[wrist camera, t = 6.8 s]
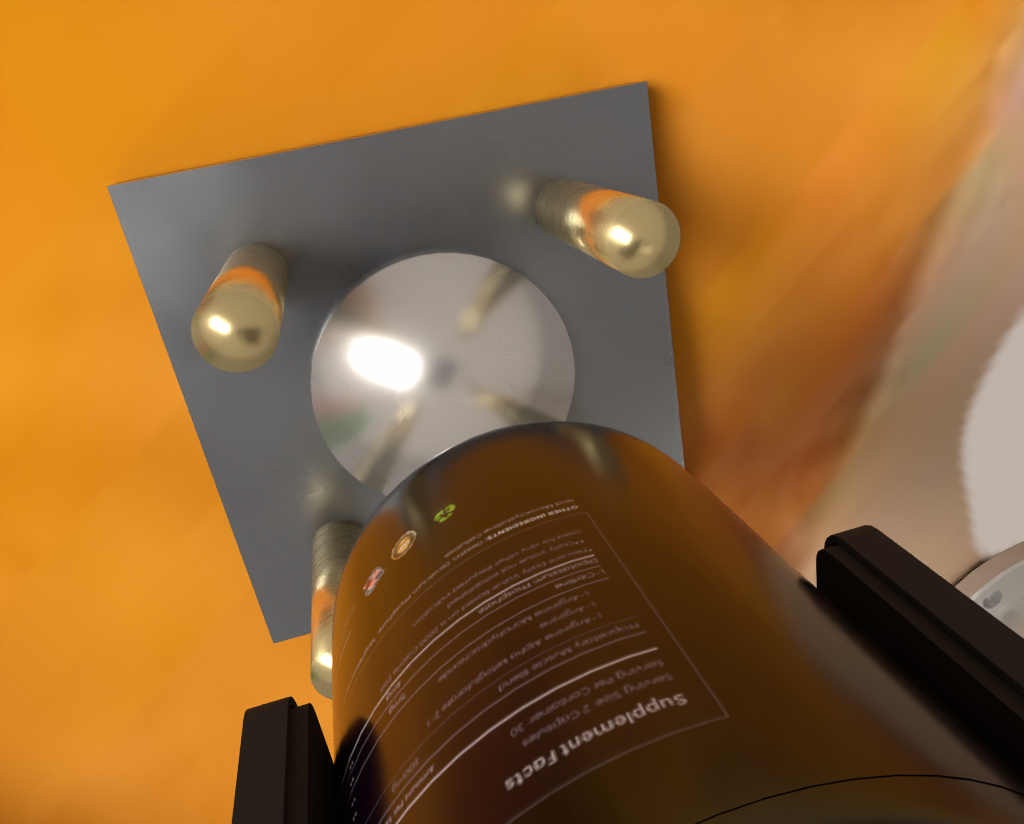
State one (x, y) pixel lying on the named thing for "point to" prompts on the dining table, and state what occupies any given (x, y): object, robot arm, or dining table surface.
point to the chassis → (404, 314)
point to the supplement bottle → (618, 660)
